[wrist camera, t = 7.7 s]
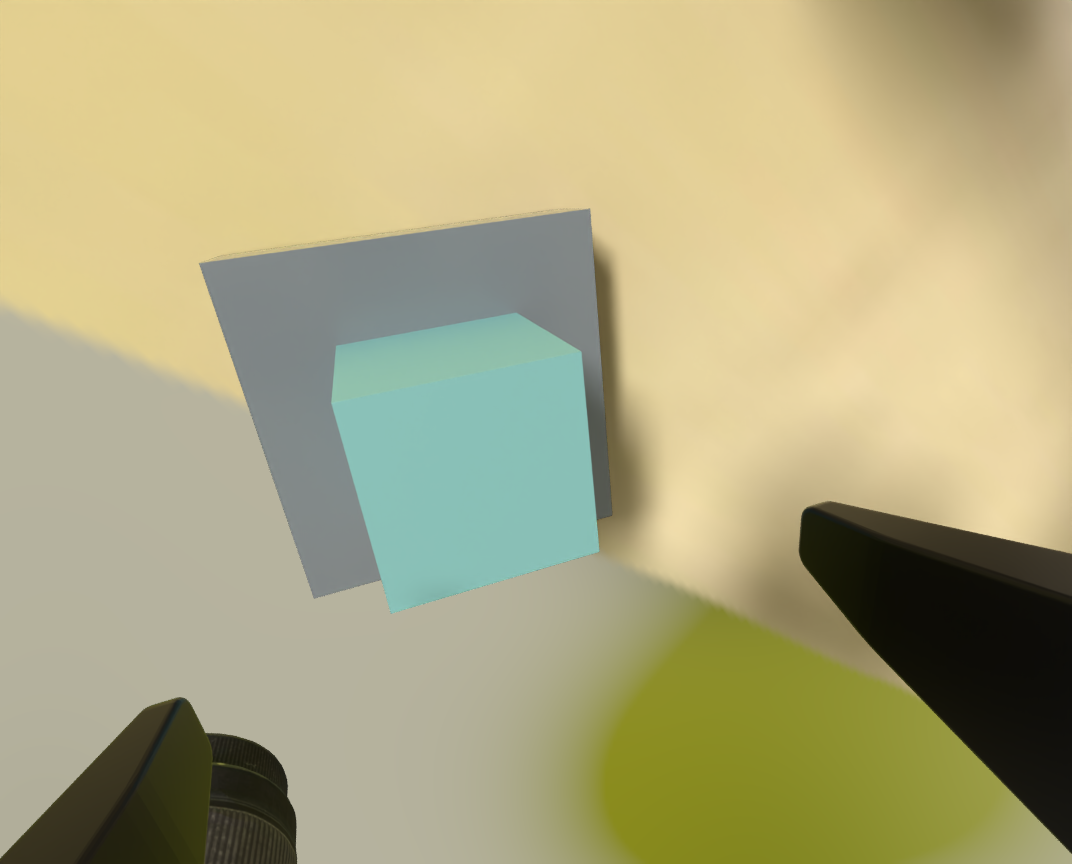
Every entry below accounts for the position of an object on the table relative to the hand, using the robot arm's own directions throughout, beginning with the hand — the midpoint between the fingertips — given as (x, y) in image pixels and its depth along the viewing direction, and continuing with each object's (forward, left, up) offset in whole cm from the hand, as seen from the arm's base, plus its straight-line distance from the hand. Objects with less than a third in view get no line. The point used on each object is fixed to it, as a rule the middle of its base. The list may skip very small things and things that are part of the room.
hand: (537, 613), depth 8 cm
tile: (0, 0, -12) cm, 12 cm away
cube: (0, 0, -9) cm, 9 cm away
